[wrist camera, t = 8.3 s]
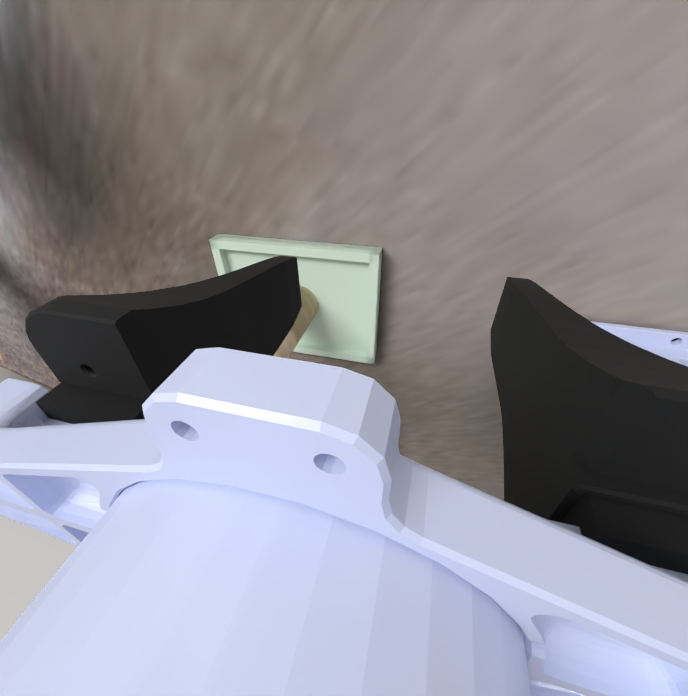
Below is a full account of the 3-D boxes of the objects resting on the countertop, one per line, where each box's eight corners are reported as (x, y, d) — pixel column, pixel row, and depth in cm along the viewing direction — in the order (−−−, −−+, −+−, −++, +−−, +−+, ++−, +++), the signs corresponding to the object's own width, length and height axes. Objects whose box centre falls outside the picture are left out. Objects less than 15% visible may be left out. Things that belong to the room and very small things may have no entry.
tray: (382, 247, 22) (379, 254, 21) (376, 354, 27) (373, 364, 26) (218, 233, 24) (208, 239, 23) (243, 334, 30) (236, 342, 29)
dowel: (315, 286, 24) (259, 366, 17) (320, 321, 26) (270, 406, 19) (277, 283, 25) (209, 359, 18) (284, 317, 26) (224, 398, 20)
